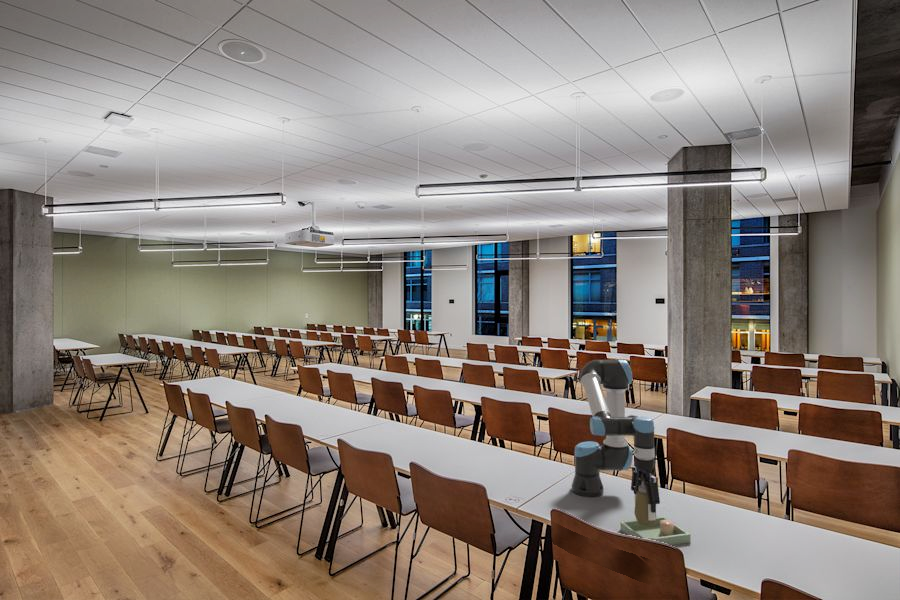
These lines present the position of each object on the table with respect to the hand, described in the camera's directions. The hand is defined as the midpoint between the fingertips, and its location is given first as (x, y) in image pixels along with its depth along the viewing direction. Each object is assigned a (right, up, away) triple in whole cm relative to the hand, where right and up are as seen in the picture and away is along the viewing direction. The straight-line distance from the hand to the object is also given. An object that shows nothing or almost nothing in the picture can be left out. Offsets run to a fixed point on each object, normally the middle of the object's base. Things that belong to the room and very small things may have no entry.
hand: (645, 515), depth 194 cm
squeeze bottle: (0, -3, 0) cm, 3 cm away
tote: (+4, -9, +1) cm, 10 cm away
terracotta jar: (+9, -8, +2) cm, 13 cm away
